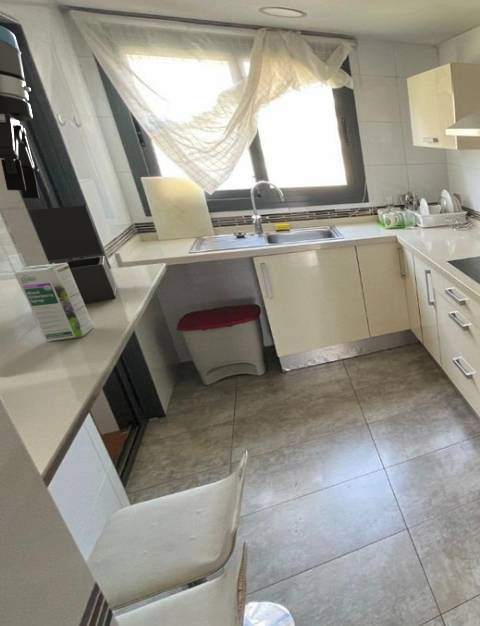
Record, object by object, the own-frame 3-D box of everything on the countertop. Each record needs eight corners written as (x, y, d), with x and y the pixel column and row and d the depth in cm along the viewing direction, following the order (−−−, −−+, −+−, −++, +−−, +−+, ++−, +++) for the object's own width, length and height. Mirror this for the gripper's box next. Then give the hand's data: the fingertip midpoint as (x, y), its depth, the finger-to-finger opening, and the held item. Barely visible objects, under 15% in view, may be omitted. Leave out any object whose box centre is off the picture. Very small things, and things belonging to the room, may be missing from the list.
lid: (85, 205, 116) (86, 205, 117) (28, 209, 110) (29, 210, 111) (103, 253, 119) (103, 253, 120) (48, 261, 113) (48, 261, 114)
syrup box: (45, 342, 90) (11, 272, 85) (60, 331, 95) (29, 264, 90) (82, 337, 92) (52, 268, 87) (95, 327, 97) (67, 261, 92)
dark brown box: (115, 298, 115) (102, 264, 111) (59, 308, 108) (43, 272, 105) (116, 287, 123) (104, 255, 120) (63, 296, 117) (49, 263, 113)
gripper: (15, 84, 97) (36, 187, 100) (41, 116, 116) (58, 201, 119) (-41, 77, 92) (-18, 185, 95) (-5, 111, 111) (14, 200, 114)
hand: (24, 194), depth 107 cm, fingers open, 13 cm apart
